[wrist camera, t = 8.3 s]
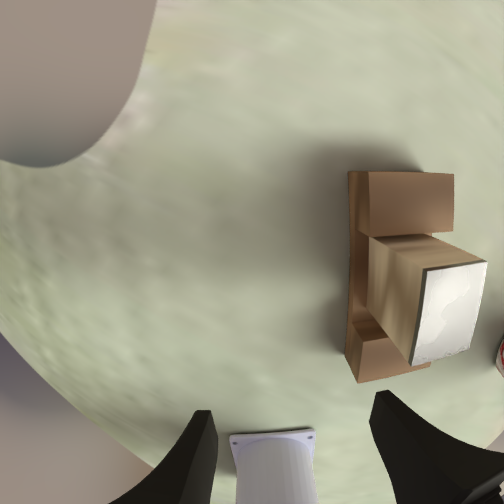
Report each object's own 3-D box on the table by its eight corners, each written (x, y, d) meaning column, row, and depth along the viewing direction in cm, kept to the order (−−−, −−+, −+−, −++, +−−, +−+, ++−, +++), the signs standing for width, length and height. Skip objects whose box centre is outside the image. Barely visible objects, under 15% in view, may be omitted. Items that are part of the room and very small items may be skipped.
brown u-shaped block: (410, 343, 21) (429, 366, 17) (344, 355, 21) (357, 383, 18) (424, 172, 17) (453, 174, 14) (347, 171, 17) (368, 171, 14)
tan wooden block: (414, 299, 19) (468, 349, 12) (366, 307, 19) (411, 366, 12) (420, 231, 17) (487, 261, 11) (368, 235, 17) (427, 271, 11)
